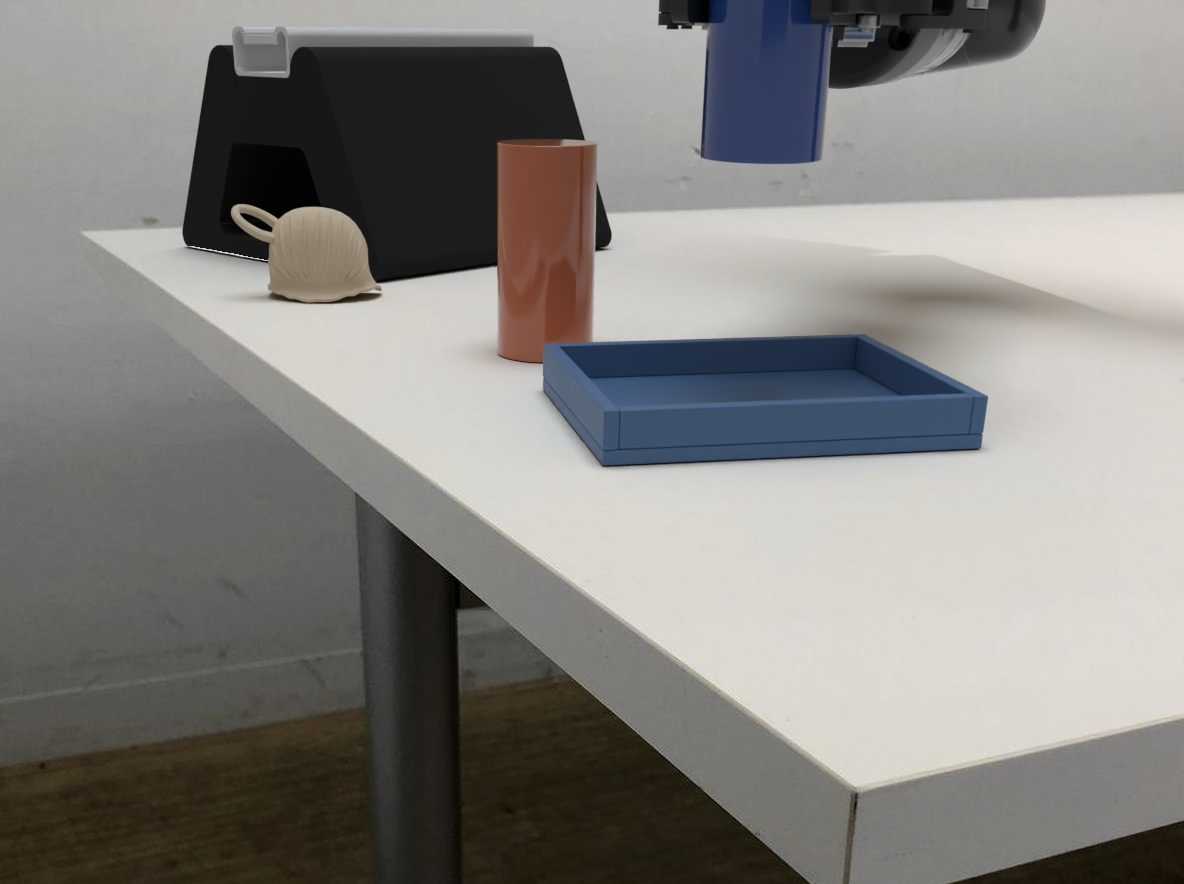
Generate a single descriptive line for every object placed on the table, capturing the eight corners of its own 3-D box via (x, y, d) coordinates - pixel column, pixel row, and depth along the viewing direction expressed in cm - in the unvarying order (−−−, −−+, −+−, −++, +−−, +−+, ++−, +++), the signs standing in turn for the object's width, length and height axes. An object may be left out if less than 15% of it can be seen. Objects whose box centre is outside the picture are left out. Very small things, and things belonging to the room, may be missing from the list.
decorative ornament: (370, 304, 82) (366, 210, 80) (232, 300, 83) (225, 207, 81) (384, 292, 86) (381, 202, 84) (252, 289, 87) (245, 199, 84)
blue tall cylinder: (797, 152, 58) (819, -121, 54) (840, 163, 53) (867, -133, 49) (686, 153, 57) (699, -124, 53) (720, 164, 53) (737, -137, 49)
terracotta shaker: (581, 341, 73) (585, 138, 69) (602, 361, 68) (607, 146, 64) (491, 344, 72) (489, 139, 68) (505, 364, 68) (505, 146, 64)
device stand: (611, 248, 104) (617, 29, 98) (380, 282, 89) (370, 27, 83) (411, 221, 118) (406, 28, 112) (183, 246, 103) (163, 26, 97)
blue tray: (860, 378, 65) (865, 333, 65) (981, 448, 54) (989, 395, 54) (542, 389, 63) (543, 343, 62) (602, 466, 52) (604, 410, 51)
